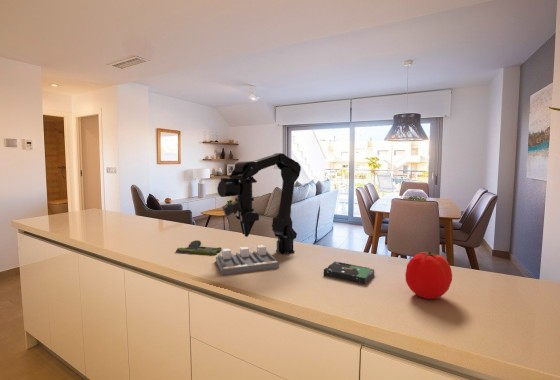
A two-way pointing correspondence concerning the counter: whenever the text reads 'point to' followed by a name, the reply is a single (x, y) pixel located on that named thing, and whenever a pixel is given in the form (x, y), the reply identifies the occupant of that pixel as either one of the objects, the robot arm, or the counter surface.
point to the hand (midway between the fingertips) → (245, 235)
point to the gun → (199, 249)
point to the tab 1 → (226, 253)
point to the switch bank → (246, 263)
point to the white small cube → (244, 251)
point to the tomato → (428, 275)
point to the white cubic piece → (261, 250)
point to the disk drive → (349, 272)
